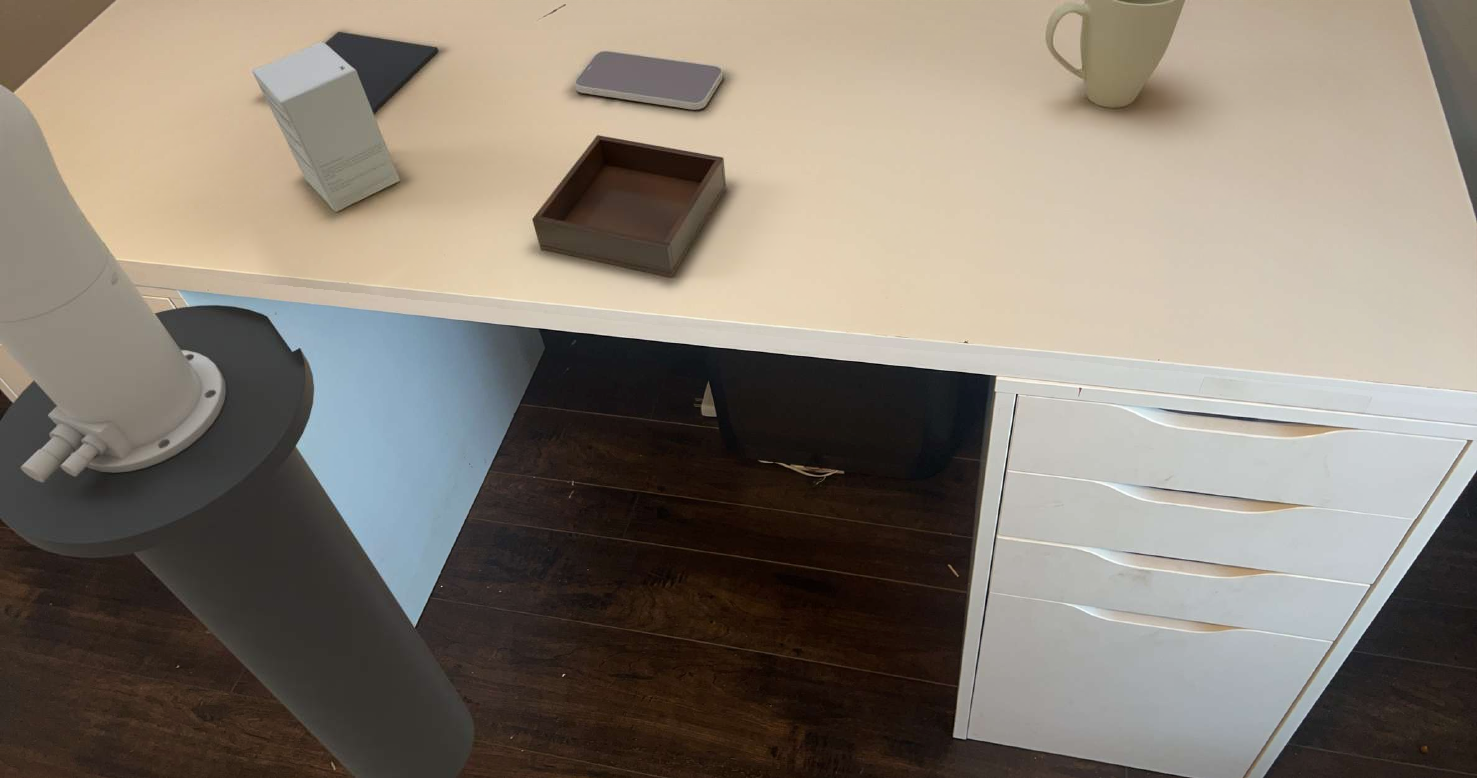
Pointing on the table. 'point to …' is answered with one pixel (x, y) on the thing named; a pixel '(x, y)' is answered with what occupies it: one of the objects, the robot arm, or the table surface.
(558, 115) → the table surface
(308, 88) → the white packaging box
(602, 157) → the tray
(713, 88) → the smartphone
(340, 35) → the mat
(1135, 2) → the mug
